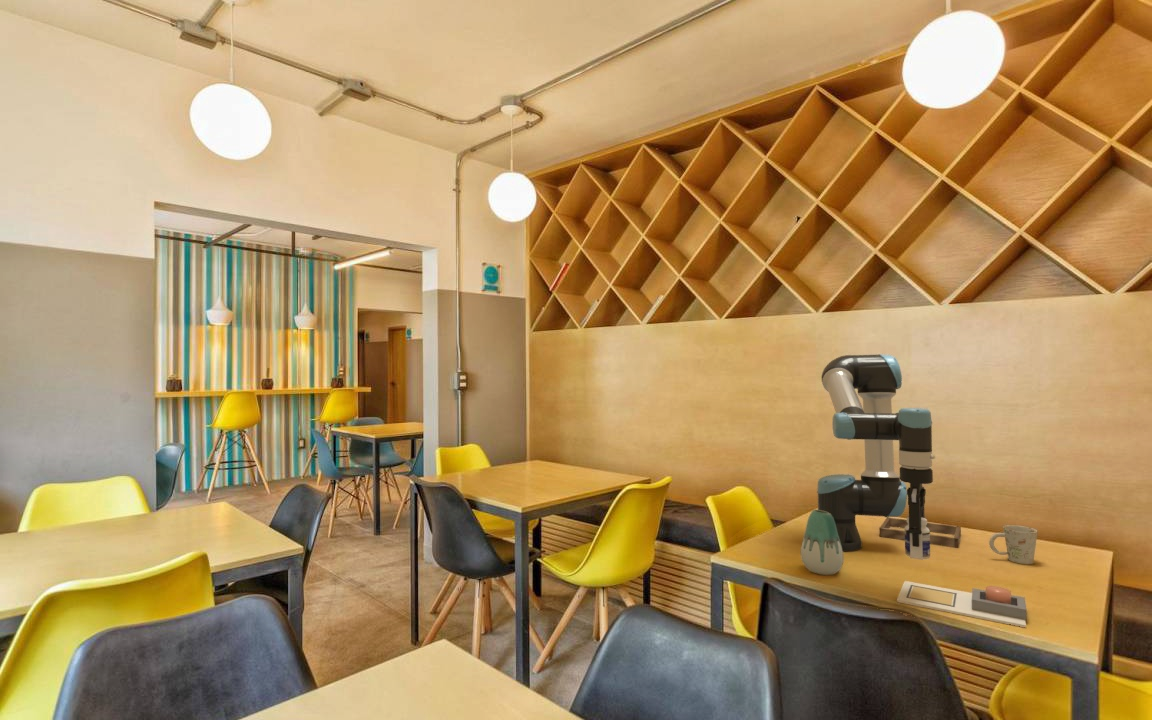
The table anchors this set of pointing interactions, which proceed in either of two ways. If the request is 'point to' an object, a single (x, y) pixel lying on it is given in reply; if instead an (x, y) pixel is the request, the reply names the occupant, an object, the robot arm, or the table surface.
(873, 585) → the table surface
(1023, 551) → the mug
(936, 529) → the book tray
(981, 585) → the table surface
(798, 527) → the table surface
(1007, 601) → the button
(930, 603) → the white base plate
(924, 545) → the pill bottle
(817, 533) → the vase
